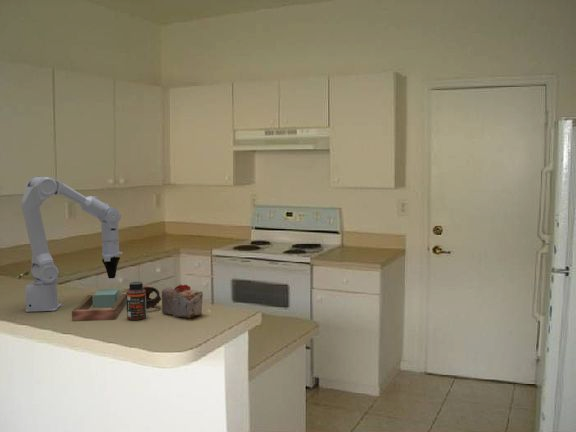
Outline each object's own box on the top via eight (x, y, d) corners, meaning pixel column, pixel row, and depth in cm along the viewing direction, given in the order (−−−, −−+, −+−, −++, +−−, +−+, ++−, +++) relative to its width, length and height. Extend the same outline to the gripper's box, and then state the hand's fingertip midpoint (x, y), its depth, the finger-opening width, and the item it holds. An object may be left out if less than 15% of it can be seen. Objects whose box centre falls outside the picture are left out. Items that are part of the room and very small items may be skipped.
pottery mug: (162, 305, 200) (165, 287, 196) (154, 323, 192) (157, 305, 188) (127, 297, 199) (130, 278, 195) (118, 315, 191) (121, 296, 187)
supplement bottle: (129, 321, 178) (128, 285, 176) (125, 317, 183) (123, 281, 182) (148, 319, 180) (147, 283, 179) (144, 314, 186) (142, 280, 184)
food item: (207, 315, 185) (206, 284, 184) (189, 321, 178) (189, 289, 177) (175, 309, 192) (174, 280, 191) (158, 315, 186) (157, 284, 185)
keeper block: (93, 308, 195) (93, 295, 195) (99, 301, 204) (98, 289, 204) (115, 307, 196) (114, 294, 196) (119, 301, 205) (119, 288, 204)
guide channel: (72, 320, 179) (71, 311, 179) (88, 303, 200) (88, 295, 200) (115, 319, 180) (114, 309, 180) (126, 302, 202) (126, 294, 201)
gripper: (118, 243, 201) (119, 281, 202) (125, 237, 215) (126, 273, 216) (97, 243, 200) (98, 282, 201) (105, 238, 214) (107, 274, 216)
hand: (111, 277), depth 209 cm, fingers closed
